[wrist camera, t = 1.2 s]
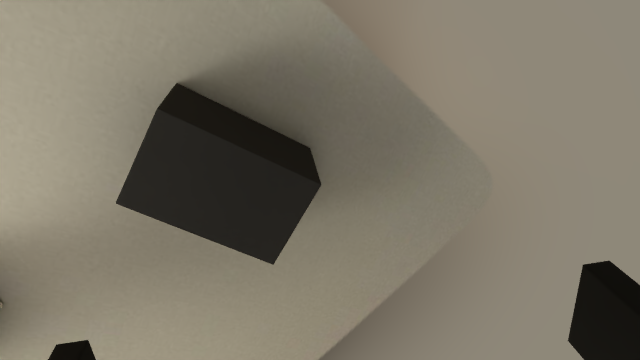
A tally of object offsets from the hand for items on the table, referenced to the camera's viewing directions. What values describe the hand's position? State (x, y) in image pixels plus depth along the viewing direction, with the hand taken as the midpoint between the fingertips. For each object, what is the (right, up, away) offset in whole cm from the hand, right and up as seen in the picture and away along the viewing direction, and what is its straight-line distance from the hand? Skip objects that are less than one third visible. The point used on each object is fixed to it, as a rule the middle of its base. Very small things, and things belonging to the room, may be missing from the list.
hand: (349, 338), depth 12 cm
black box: (-6, +6, +13) cm, 16 cm away
